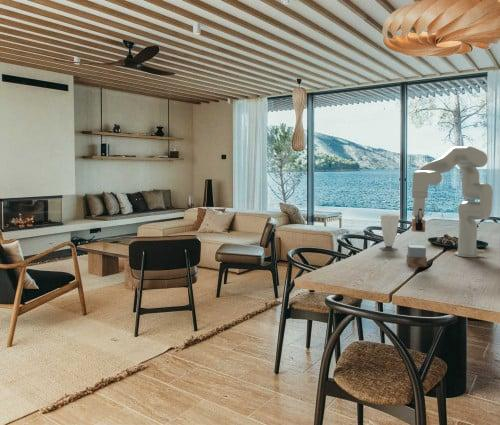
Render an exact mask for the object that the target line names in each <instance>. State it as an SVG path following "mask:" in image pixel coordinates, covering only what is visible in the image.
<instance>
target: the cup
mask: <svg viewBox="0 0 500 425" xmlns="http://www.w3.org/2000/svg"><path fill="white" fill-rule="evenodd" d="M399 222H400V215H399V214H395V213H394V214H393V213H382V214H381V213H380V224H381V225H380V226H381V232H382V233H381V234H382V238H383V243H384V246H385V247H384V246H382V247H379V250H381V251H386V252H395V251H399V248H396V247H394V243H395V240H396V236H397V232H398V229H399Z"/></svg>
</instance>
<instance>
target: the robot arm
mask: <svg viewBox="0 0 500 425" xmlns="http://www.w3.org/2000/svg"><path fill="white" fill-rule="evenodd" d="M488 161H489V160H488V155H487V153H486V152H484V151H483V150H480V149H478V148H476V147H473V146H468V145H467V146H464V145H463V146H453V147H451V148H450V149H449V150H448V151H446V152H445V153H444V154H443V155H442V156H441V157H439V158H438V159H434V160H432V161H431V162H428V163H426V164H424V165H422V166H421V167H420V168H418V169H417V170H416V171H414V172H413V174H412V185H411V186H412V189H411V198H412V199H413V201H412V203H413V204H412V216H413V217H414V219H417V223H416V230H417V231H422V226H423V223H422V219H423V218H424V217H425V209H426V208H425V207H426V199H428V195H429V194H428V193H429V192H428V190H429V186H438V185H439V184H440V183H442V180H443V175H442V174H444V173H448V172H449V171H452V169H453V168H455V166H458V167H459V168H460V171H461V173H462V187H461V194H462V197H463V198H464V199H468V201H467V200H465V201H462V202H460V203H459V204H458V206H457V213H458V219H459V220H458V222H459V223H458V239H457V241H458V242H457V251H455V252H454V255H455V256H457V257H464V258H478V257H479V256H480V255H479V254H486V250H485V249H479V248H477V240H478V237H477V236H478V223H477V221H476V219H478V220H487V219H489V218H490V217H491V215H492V211H493V210H492V207H493V198H494V196H493V195H494V194H493V192H494V190H493V187H492V185H491V184H490V183H486V182H480V172H479V170H478V168H483V167H486V165H487V164H488ZM470 200H479V201H470Z"/></svg>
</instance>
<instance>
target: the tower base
mask: <svg viewBox="0 0 500 425" xmlns="http://www.w3.org/2000/svg"><path fill="white" fill-rule="evenodd" d="M427 260H428V257H426V258H421V257H409V256H408V253H406V265H407V267H415V266H417V268H418V267H419V268H426V267H427V266H428V265H427V264H428V262H427Z"/></svg>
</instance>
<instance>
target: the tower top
mask: <svg viewBox="0 0 500 425" xmlns="http://www.w3.org/2000/svg"><path fill="white" fill-rule="evenodd" d="M426 253H427V248H426V245H424V244H423V245H421V244H420V245H419V244H407V254H408V256H409V257H421V258H427V256H426V255H427V254H426Z"/></svg>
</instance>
